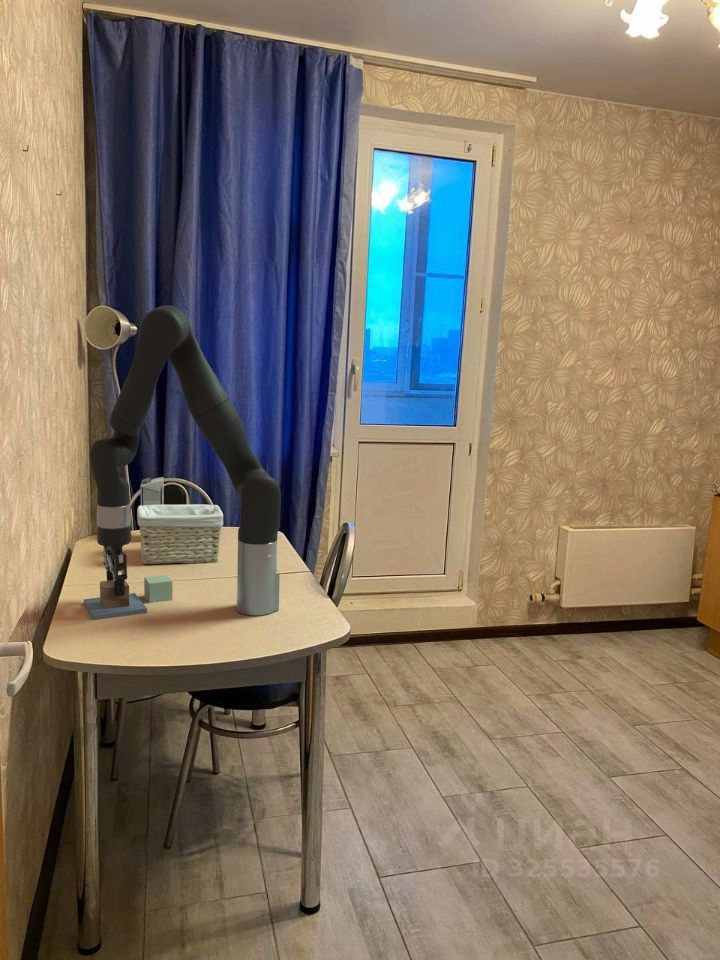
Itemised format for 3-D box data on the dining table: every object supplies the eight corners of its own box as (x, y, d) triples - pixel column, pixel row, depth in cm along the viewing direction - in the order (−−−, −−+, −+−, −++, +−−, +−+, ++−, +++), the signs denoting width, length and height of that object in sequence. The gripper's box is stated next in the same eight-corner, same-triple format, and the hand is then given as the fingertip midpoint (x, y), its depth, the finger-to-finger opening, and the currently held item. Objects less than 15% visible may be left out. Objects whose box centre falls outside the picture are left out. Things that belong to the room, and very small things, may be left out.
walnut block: (124, 598, 178) (123, 578, 177) (129, 605, 173) (129, 585, 172) (100, 601, 175) (99, 581, 174) (105, 609, 170) (104, 588, 170)
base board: (134, 596, 182) (134, 593, 182) (147, 612, 172) (147, 608, 172) (83, 603, 177) (83, 599, 176) (93, 619, 166) (93, 615, 166)
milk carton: (163, 542, 234) (162, 480, 231) (141, 542, 232) (140, 480, 229) (163, 536, 241) (163, 476, 237) (142, 537, 239) (141, 476, 236)
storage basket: (217, 549, 229) (218, 502, 227) (224, 564, 214) (224, 514, 211) (137, 552, 222) (136, 504, 219) (137, 567, 207) (137, 516, 204)
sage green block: (166, 593, 186) (166, 574, 185) (172, 600, 181) (172, 581, 181) (144, 596, 183) (144, 577, 183) (149, 603, 179) (149, 583, 178)
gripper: (137, 528, 167) (138, 597, 170) (123, 515, 179) (125, 579, 182) (103, 531, 163) (104, 601, 166) (91, 518, 175) (93, 583, 178)
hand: (115, 590), depth 174 cm, fingers open, 8 cm apart
